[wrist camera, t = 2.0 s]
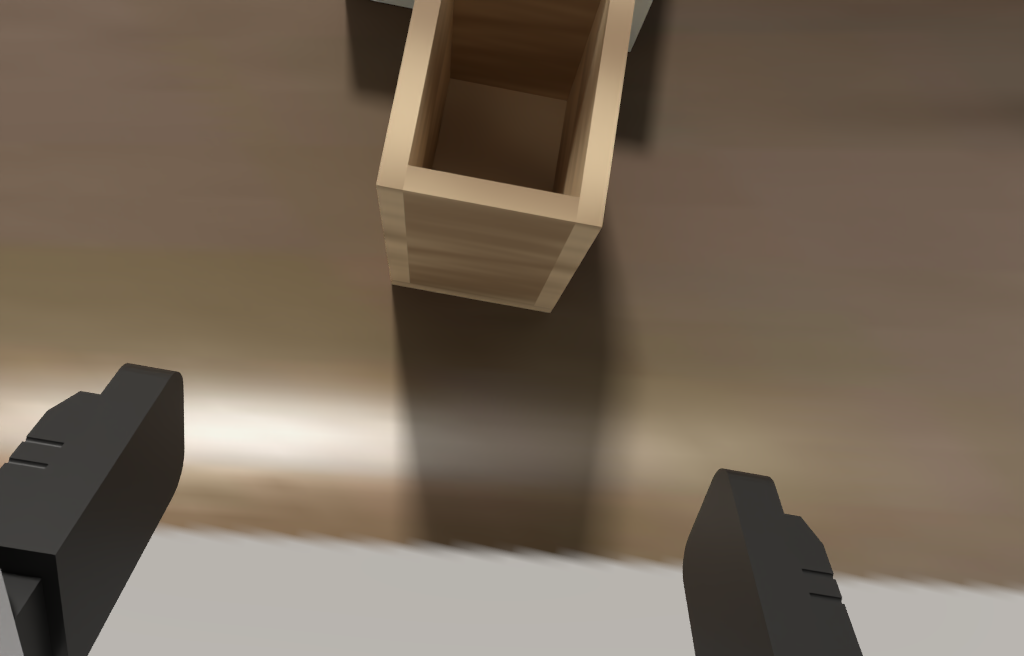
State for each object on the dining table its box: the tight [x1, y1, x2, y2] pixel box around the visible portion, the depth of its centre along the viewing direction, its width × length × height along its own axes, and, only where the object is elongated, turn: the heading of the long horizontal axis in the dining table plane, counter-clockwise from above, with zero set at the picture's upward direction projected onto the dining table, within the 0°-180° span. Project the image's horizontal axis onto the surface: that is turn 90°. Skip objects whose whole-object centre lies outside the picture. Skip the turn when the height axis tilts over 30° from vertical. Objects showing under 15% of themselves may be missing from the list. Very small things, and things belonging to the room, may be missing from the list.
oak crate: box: [376, 0, 635, 313], centre depth 29 cm, size 9×6×10 cm, turn 171°
